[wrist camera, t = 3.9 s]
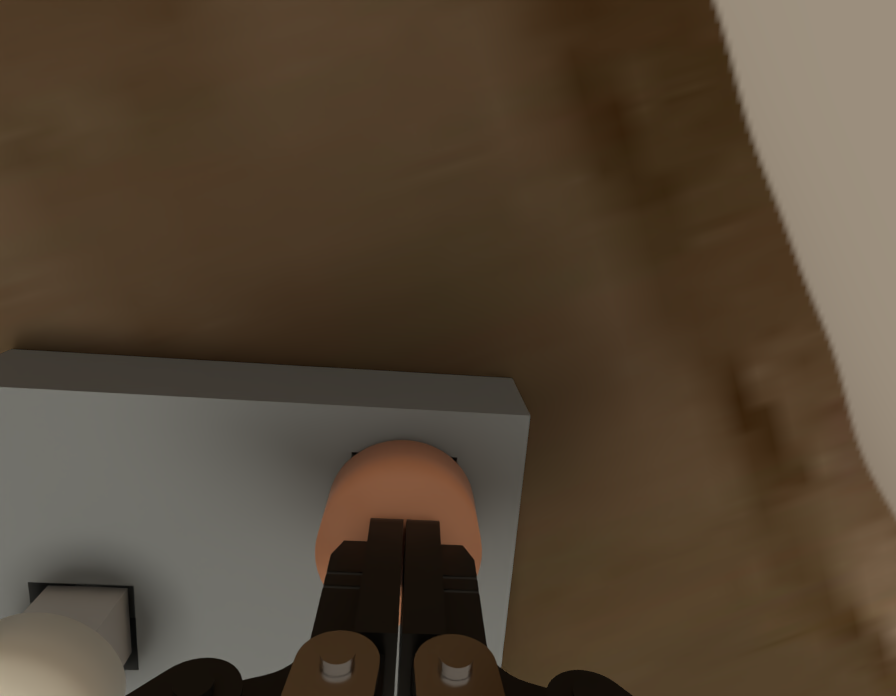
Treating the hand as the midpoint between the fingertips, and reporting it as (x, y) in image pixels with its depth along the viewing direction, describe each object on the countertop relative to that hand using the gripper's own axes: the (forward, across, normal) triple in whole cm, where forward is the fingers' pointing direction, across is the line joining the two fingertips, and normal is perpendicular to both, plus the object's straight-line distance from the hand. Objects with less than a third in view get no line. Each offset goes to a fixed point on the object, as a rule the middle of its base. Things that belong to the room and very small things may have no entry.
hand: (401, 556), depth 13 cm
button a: (+4, 0, 0) cm, 4 cm away
